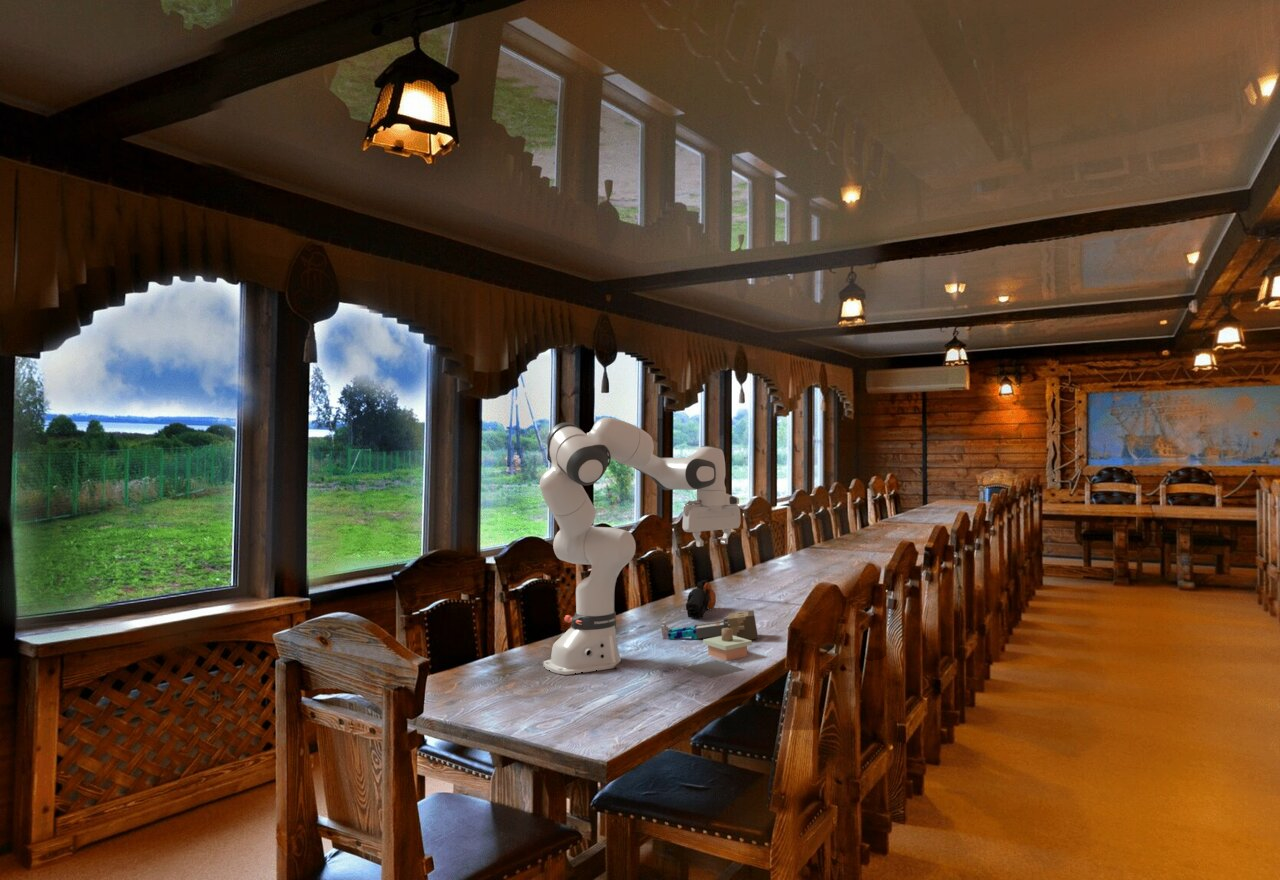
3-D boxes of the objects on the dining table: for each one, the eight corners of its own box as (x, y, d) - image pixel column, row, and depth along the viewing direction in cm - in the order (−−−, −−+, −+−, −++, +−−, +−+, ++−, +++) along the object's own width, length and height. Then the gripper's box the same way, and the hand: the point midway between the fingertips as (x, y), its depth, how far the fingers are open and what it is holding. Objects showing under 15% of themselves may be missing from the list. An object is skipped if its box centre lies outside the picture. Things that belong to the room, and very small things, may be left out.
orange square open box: (726, 663, 218) (726, 649, 218) (708, 657, 224) (708, 643, 224) (747, 658, 222) (747, 644, 222) (729, 652, 229) (728, 639, 229)
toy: (665, 615, 263) (752, 603, 259) (669, 637, 263) (756, 625, 259) (657, 633, 237) (754, 620, 233) (661, 658, 237) (758, 645, 233)
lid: (725, 650, 216) (725, 634, 216) (703, 643, 224) (702, 628, 224) (751, 644, 222) (751, 629, 222) (728, 638, 230) (728, 623, 230)
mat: (711, 680, 201) (711, 677, 201) (683, 670, 211) (683, 667, 211) (745, 672, 208) (745, 669, 208) (716, 663, 218) (716, 660, 218)
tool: (685, 638, 277) (679, 602, 271) (700, 603, 297) (695, 569, 292) (707, 639, 274) (702, 603, 269) (720, 603, 294) (715, 569, 289)
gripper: (690, 501, 224) (691, 549, 224) (743, 498, 235) (744, 543, 235) (677, 500, 229) (678, 547, 229) (729, 497, 241) (730, 541, 240)
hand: (712, 545), depth 232 cm, fingers open, 8 cm apart
